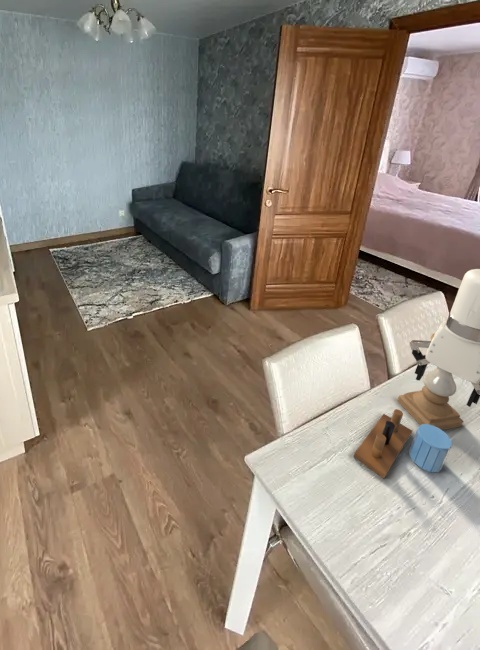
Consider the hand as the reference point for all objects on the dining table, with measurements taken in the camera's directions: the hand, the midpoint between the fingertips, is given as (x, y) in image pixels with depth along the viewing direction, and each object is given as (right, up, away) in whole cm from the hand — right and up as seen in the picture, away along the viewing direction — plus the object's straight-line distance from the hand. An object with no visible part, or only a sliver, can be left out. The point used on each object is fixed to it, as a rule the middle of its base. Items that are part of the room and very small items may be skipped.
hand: (443, 389), depth 78 cm
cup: (0, -20, +6) cm, 21 cm away
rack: (-8, -18, +10) cm, 22 cm away
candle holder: (+11, -15, +19) cm, 26 cm away
